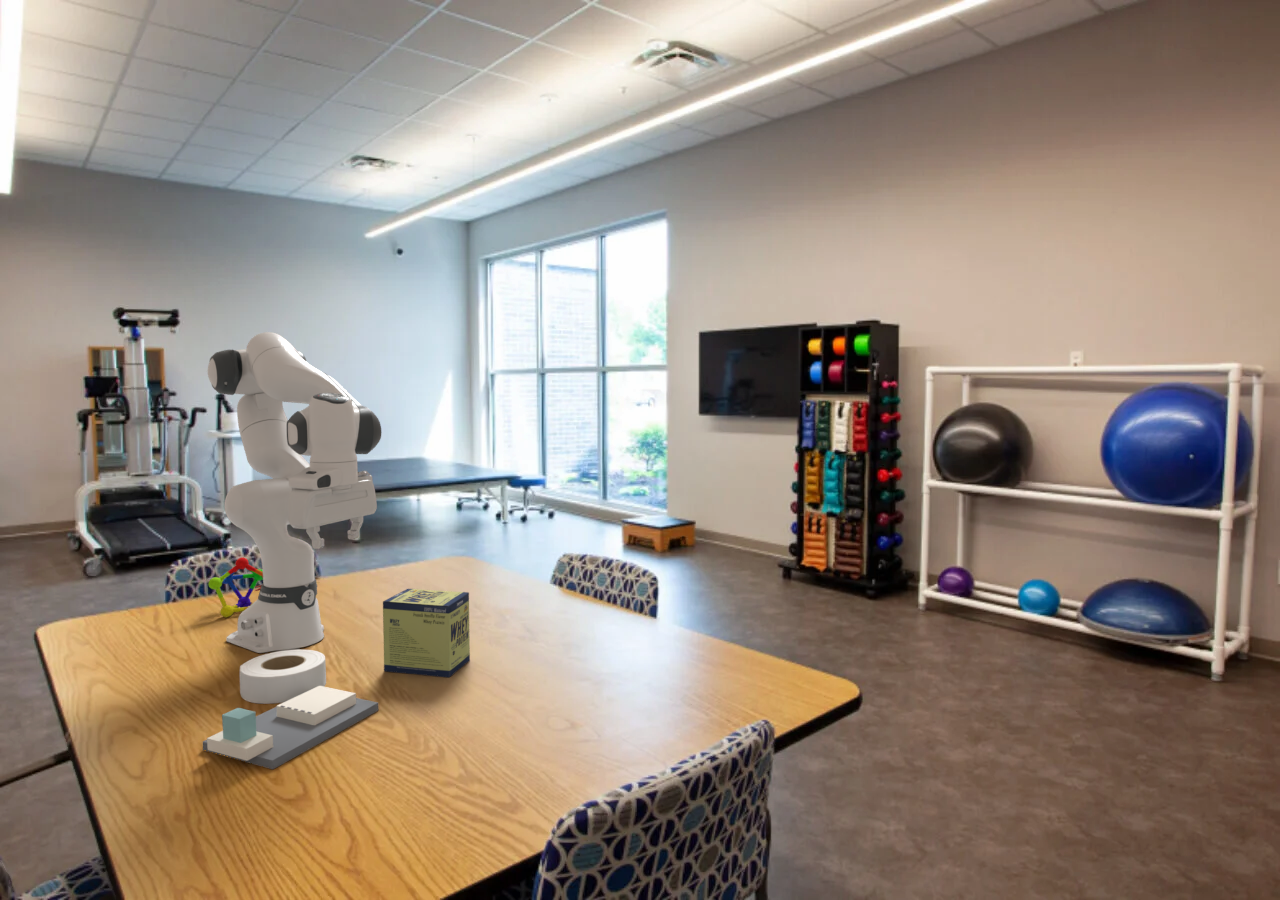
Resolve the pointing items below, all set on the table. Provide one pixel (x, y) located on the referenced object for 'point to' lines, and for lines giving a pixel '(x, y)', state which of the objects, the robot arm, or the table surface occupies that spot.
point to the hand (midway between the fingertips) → (336, 543)
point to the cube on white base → (240, 736)
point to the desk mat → (302, 732)
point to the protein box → (426, 632)
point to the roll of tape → (281, 675)
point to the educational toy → (227, 579)
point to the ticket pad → (316, 705)
